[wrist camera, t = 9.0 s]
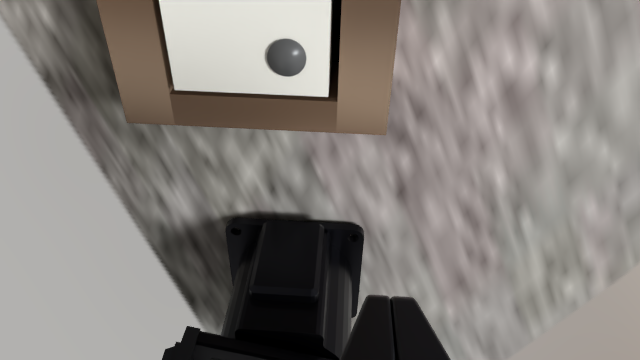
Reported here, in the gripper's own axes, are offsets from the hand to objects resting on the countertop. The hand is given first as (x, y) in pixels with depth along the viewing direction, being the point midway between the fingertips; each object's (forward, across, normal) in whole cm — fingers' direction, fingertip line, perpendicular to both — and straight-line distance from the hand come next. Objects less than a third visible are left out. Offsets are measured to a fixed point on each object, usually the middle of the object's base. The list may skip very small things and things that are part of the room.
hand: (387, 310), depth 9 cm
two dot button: (+11, +4, -2) cm, 12 cm away
